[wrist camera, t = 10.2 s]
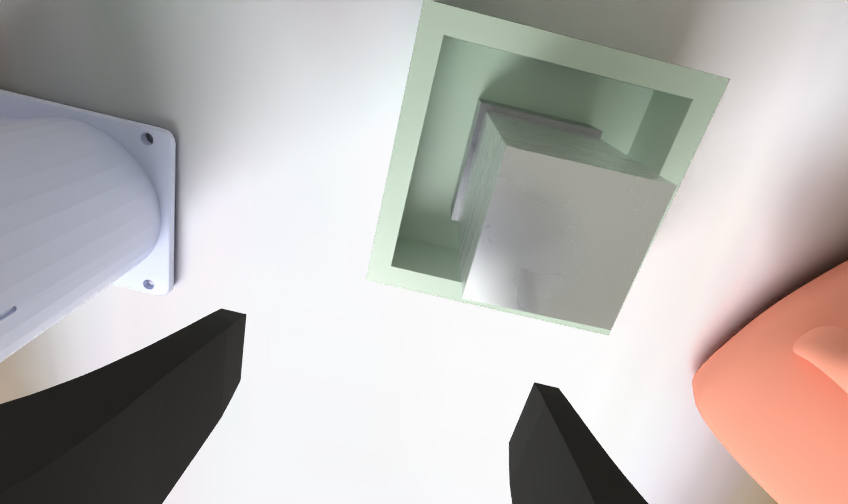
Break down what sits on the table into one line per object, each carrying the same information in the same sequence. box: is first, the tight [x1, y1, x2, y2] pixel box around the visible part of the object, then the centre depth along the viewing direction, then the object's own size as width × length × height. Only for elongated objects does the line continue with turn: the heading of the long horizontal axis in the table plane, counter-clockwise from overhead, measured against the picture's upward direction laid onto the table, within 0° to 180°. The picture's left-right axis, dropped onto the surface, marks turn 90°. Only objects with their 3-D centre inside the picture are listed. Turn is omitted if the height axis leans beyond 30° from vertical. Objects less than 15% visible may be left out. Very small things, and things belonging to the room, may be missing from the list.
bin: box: [366, 0, 730, 335], centre depth 18 cm, size 10×10×4 cm
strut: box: [451, 98, 677, 330], centre depth 15 cm, size 4×4×8 cm
